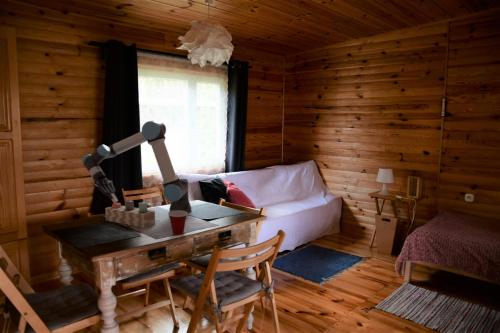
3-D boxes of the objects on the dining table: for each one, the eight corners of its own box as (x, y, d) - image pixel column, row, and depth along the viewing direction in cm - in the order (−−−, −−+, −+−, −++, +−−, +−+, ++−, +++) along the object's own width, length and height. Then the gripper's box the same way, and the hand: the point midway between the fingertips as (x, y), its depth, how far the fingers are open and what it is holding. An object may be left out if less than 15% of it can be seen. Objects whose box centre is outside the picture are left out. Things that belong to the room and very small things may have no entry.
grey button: (123, 209, 230) (123, 201, 230) (129, 207, 235) (129, 200, 234) (129, 210, 228) (128, 202, 227) (135, 208, 232) (135, 200, 232)
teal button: (137, 211, 224) (136, 203, 224) (143, 210, 229) (143, 202, 228) (143, 212, 222) (142, 204, 221) (149, 210, 226) (149, 202, 226)
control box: (106, 220, 236) (105, 208, 235) (118, 217, 245) (118, 205, 244) (143, 227, 220) (142, 214, 219) (155, 223, 228) (154, 210, 227)
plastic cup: (177, 237, 199) (177, 215, 198) (164, 234, 206) (163, 213, 204) (192, 232, 208) (191, 211, 206) (179, 229, 214) (178, 209, 213)
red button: (110, 212, 237) (110, 204, 236) (117, 210, 241) (116, 202, 241) (116, 212, 234) (115, 205, 234) (122, 211, 239) (122, 203, 238)
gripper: (103, 177, 251) (121, 203, 244) (86, 179, 240) (105, 207, 233) (108, 169, 247) (126, 196, 241) (91, 172, 236) (110, 200, 230)
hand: (116, 202), depth 237 cm, fingers closed
